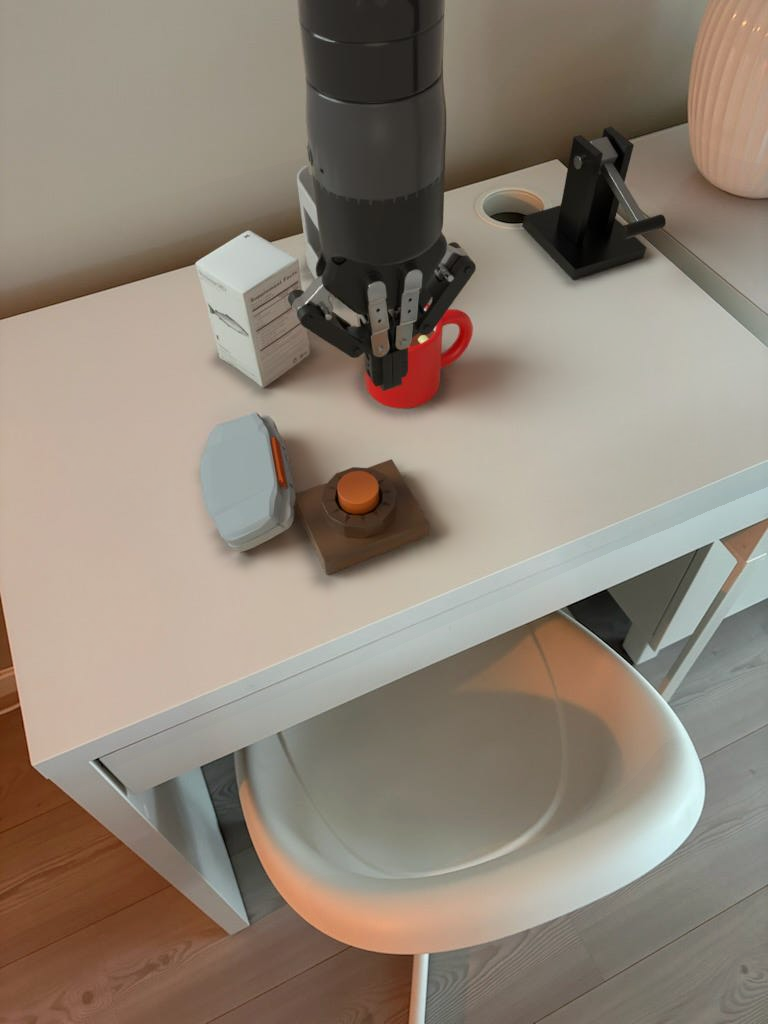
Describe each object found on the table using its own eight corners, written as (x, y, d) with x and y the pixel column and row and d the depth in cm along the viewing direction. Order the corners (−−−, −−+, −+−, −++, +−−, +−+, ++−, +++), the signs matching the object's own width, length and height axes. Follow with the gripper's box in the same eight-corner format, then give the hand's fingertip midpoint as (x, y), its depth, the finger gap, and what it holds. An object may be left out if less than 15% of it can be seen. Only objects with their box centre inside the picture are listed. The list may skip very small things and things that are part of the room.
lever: (659, 233, 83) (669, 218, 81) (621, 245, 82) (630, 230, 80) (609, 149, 86) (617, 133, 84) (571, 160, 85) (579, 143, 83)
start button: (385, 506, 66) (385, 494, 64) (348, 520, 65) (346, 509, 64) (369, 477, 68) (368, 465, 66) (332, 490, 67) (331, 478, 65)
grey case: (222, 562, 67) (304, 532, 66) (206, 547, 65) (290, 515, 64) (208, 444, 76) (280, 415, 75) (193, 426, 73) (268, 396, 72)
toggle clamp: (643, 257, 91) (674, 155, 81) (572, 280, 89) (595, 178, 78) (589, 206, 97) (611, 106, 87) (521, 226, 95) (536, 125, 85)
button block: (428, 535, 68) (429, 509, 65) (326, 575, 66) (322, 551, 63) (392, 473, 72) (391, 446, 69) (295, 508, 70) (289, 482, 67)
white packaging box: (218, 359, 82) (191, 260, 72) (268, 325, 85) (249, 226, 75) (262, 391, 79) (241, 293, 69) (313, 354, 82) (300, 256, 72)
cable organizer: (333, 318, 86) (324, 225, 76) (299, 257, 93) (286, 164, 83) (387, 303, 87) (385, 209, 77) (349, 244, 94) (343, 151, 84)
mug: (486, 378, 80) (494, 320, 73) (386, 418, 77) (385, 361, 70) (449, 334, 84) (453, 275, 77) (353, 370, 81) (348, 312, 74)
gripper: (288, 223, 38) (323, 445, 52) (515, 159, 41) (490, 386, 55) (243, 153, 42) (286, 377, 56) (453, 99, 45) (444, 324, 59)
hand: (387, 381), depth 56 cm, fingers closed
